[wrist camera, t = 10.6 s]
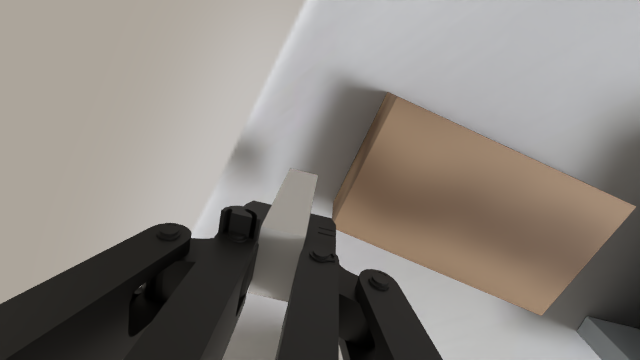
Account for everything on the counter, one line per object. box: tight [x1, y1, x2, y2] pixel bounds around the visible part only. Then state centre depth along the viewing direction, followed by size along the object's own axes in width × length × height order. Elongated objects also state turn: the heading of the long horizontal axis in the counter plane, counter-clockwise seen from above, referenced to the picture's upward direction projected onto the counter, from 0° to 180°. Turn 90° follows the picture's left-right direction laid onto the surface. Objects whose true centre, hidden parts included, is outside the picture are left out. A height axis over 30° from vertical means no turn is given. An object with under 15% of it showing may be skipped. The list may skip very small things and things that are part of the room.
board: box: [332, 92, 636, 316], centre depth 19 cm, size 8×14×4 cm, turn 67°
